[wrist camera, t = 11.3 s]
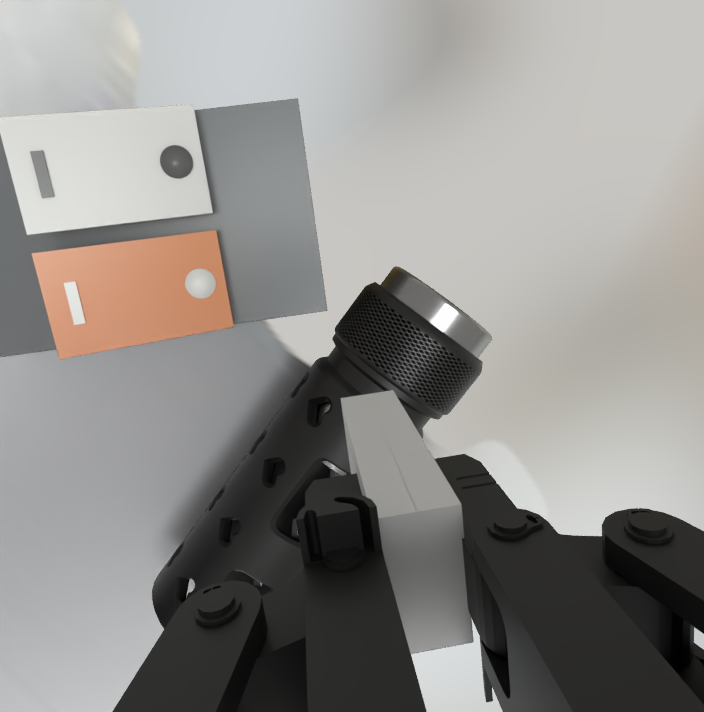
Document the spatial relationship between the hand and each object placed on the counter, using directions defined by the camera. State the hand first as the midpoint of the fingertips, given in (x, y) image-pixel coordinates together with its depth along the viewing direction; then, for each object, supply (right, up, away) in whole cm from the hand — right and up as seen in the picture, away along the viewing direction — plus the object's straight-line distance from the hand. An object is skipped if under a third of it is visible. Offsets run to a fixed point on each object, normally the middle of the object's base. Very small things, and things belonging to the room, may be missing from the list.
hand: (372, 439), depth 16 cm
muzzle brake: (-3, -4, +28) cm, 29 cm away
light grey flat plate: (-14, +13, +16) cm, 25 cm away
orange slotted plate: (-13, +6, +17) cm, 23 cm away
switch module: (-17, +11, +23) cm, 31 cm away
